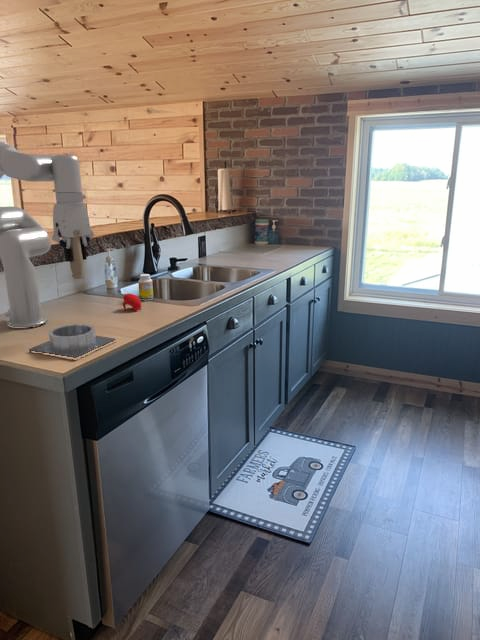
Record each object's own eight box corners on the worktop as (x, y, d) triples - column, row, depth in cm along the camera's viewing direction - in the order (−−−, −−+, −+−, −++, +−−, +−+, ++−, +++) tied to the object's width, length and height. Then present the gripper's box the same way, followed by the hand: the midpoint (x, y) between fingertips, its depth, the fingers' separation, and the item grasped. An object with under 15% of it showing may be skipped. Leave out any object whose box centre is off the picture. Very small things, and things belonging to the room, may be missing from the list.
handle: (91, 277, 148) (86, 229, 144) (72, 280, 144) (66, 230, 140) (84, 275, 151) (78, 228, 147) (64, 278, 147) (59, 229, 143)
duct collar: (29, 352, 135) (26, 335, 133) (71, 334, 150) (70, 319, 148) (76, 360, 128) (74, 343, 127) (115, 341, 143) (114, 325, 142)
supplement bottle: (140, 298, 195) (138, 273, 192) (153, 297, 196) (152, 273, 193) (139, 301, 190) (137, 276, 187) (153, 301, 191) (151, 275, 188)
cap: (116, 301, 177) (122, 295, 173) (127, 293, 181) (133, 287, 177) (130, 318, 178) (136, 313, 174) (140, 309, 182) (147, 304, 178)
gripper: (86, 197, 149) (91, 255, 155) (36, 199, 137) (44, 262, 142) (100, 198, 145) (106, 257, 150) (50, 200, 132) (58, 265, 137)
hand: (76, 259), depth 146 cm, fingers closed on handle, 4 cm apart
